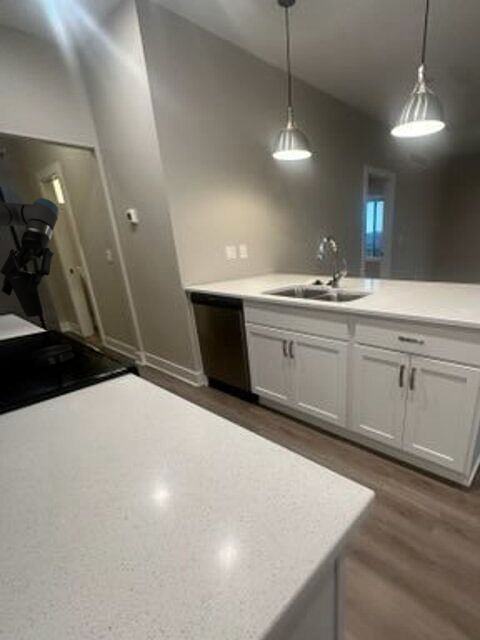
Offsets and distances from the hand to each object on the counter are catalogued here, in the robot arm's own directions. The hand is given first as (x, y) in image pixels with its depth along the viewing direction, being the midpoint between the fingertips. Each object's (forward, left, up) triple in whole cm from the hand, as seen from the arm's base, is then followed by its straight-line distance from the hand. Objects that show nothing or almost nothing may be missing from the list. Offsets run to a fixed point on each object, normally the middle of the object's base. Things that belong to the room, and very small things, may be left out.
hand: (18, 292), depth 112 cm
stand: (+15, -6, -21) cm, 27 cm away
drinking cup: (-1, +3, -9) cm, 9 cm away
